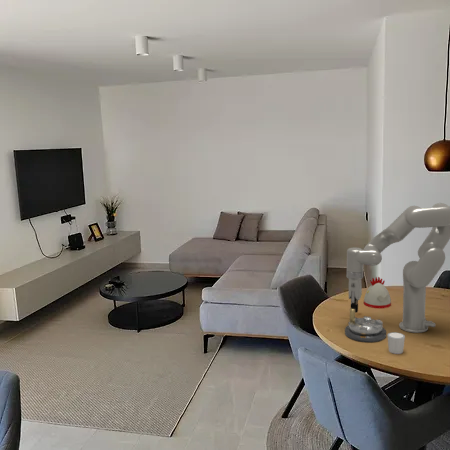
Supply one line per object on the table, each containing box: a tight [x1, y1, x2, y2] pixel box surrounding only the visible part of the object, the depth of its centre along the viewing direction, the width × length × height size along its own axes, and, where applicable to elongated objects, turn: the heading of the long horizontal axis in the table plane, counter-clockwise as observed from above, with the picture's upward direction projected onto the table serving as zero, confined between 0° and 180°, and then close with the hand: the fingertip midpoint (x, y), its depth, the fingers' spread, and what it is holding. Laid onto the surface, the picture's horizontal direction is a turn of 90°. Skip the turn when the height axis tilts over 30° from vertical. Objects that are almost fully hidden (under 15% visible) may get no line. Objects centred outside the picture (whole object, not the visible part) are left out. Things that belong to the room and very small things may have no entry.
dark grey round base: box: [344, 324, 387, 344], centre depth 220 cm, size 18×18×2 cm
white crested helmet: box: [363, 276, 392, 309], centre depth 258 cm, size 14×14×15 cm
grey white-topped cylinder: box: [386, 332, 406, 355], centre depth 202 cm, size 7×7×7 cm
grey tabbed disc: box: [348, 307, 384, 336], centre depth 219 cm, size 15×15×9 cm
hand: (354, 311), depth 228 cm, fingers closed
